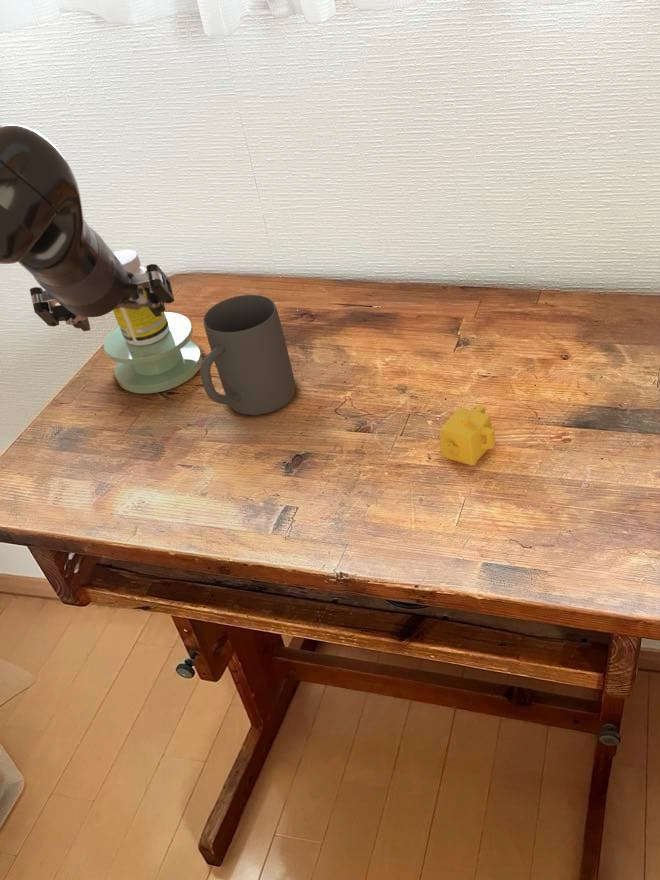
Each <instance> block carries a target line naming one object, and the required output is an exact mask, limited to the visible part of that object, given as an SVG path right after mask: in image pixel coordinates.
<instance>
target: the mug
mask: <svg viewBox="0 0 660 880" xmlns="http://www.w3.org/2000/svg"><path fill="white" fill-rule="evenodd" d="M203 327H204V330H205V334H206V338H207V341H208V345H209V348H210V352H208V354H207V355H206V356H205V357H204V358H203V359H202V360H203V361H202V364H201V368H200V369H199V372H200V380H201V382H202V387H203V390H204V391H205V393H206V395H207V397H208V398H209V399H210V400H211V401H212V402H214V403H217V404H219V405H226V406H230V407H231V409H233V410H234V411H235V412H237V413H239V414H242V415H247V416H259V415H265V414H270V413H273V412H275V411H277V410H279V409H282V408H283V407H285V406H287V404H289V402H290V401H291V400H292V399H293V398H294V396H295V393H296V382H295V377H294V376H295V375H294V372H293V368H292V367H293V366H292V363H291V359H290V354H289V350H288V346H287V343H286V338H285V335H284V331H283V326H282V323H281V319H280V316H279V312H278V308H277V306H276V304H275V302H274V301H273V300H272V299H270V297H267V296H264V295H258V294H244V295H238V296H233V297H229V298H226V299H224V300H222V301H219V302H218V303H216V304H214V305H213V306H211V307H210V308H208V310H207V311H206V312H205V314H204V316H203ZM213 364H215V367H216V371H217V374H218V376H219V380H220V383H221V386H222V389H223V392H224V394H221V393H219V392H218V391H217V390H216V389H215V386H214V383H213V380H212V376H211V369H212V365H213Z"/></svg>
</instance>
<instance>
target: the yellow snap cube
mask: <svg viewBox="0 0 660 880" xmlns="http://www.w3.org/2000/svg"><path fill="white" fill-rule="evenodd" d="M495 432H496V431H495V429H493V426H492V420H491V415H490V414H487V413H486V408H485V406H482V405H477V406H476V407H475V408H474V409H468V408H465V407H459V408H458V409H457V410H456V411H455V412H453V414H451V416H450V417H449V418H448V419H447V420H446V421H445V423H444V424H443V426H442V427H441V428H440V435H439V439H440V440H439V441H440V443H439V445H440V446H439V447H440V453H441V456H442V457H443V458H446V459H448V460H451V461H455V462H458V463H462V464H465V465H468V466H470V467H471V466H475V465H477V462H478V461H479V460H480V459H481V457H483V456H484V454H485V453H486V452H487V451H488V450H491V449H493V448H494V447H495V446H497V445H496V444H497V443H496V433H495Z"/></svg>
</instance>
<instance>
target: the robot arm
mask: <svg viewBox="0 0 660 880" xmlns="http://www.w3.org/2000/svg"><path fill="white" fill-rule="evenodd" d="M82 204H83V203H82V199H81V193H80V189H79V185H78V181H77V179H76V176H75V174H74V172H73V170H72V168H71V166H70V164H69V162H68V161H67V159H66V158H65V157H64V155H63V154H62V153H61V151H60V150H59V149H58V148H57V146H56V145H54V143H53V142H52V141H50V140H49V139H48V138H47V137H45V135H43V134H42V133H41V132H39V131H36V130H35V129H33V128H30V127H28V126H26V125H20V124H5V125H1V126H0V264H1V265H13V264H17V263H18V264H19V265H20V266H22V267H23V268H24V269H25V270H26V271H27V272H28V273H29V274H31V275H32V276H33V278H34V279H35V281H36V282H37V284H38V285H39V286H40V287H39V286H38V287H37V286H34V287H31V288H29V293H30V298H31V303H32V307H33V312H34V313H35V314H36V315H37V316H38V317H39V318H40V319H41V321H43V322H44V323H45V324H46V325H47V326H48V327H53V328H54V327H57V326H59V325H60V322H65V324H66V325H70V326H72V327H74V328H75V329H78V330H80V329H81V330H82V331H83V332H89V331H91V326H90V321H89V318H98V317H102V316H105V315H107V314H109V313H111V312H113V309H119V308H127V309H134V310H138V309H140V308H142V307H148V308H149V309H150V310H151V312H152V313H153V314H154V315H155V317H158V316H162V314H161V312H163V311H164V312H166V305H165V304H172V303H174V302H175V297H174V293H173V288H172V285H171V280H170V278H169V277H168V276H167V274H166V273H165V272H164V271H163V270H162V269H161V268H160V266H159V265H158V264H155V263H150V264H147V265H146V266H145V268H146V269H147V271H145V273H144V274H140V275H134V274H133V273H131V272H128V271H125V269H124V267H123V266H122V264H121V263H120V261H119V260H118V259H117V257H116V256H115V255H114V253H113V250H112V249H111V248H110V247H109V245H108V244H107V243H106V242H105V240H104V239H103V238H102V237H101V235H100V234H99V233H98V232H97V231H96V230H95V229H93V228H92V227H91V226H90V225H89V224H88V222H87V221H86V220H85V218H84V211H83V205H82ZM143 291H145V293H146V297H147V299H146V298H145V297H144V294H143ZM131 297H132V300H129V299H130V298H131ZM57 304H59V305H57Z"/></svg>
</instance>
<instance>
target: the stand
mask: <svg viewBox="0 0 660 880" xmlns="http://www.w3.org/2000/svg"><path fill="white" fill-rule="evenodd" d="M164 313H165V315H166V318H167V321H168V324H169V331H168V333H167V334H166V336H164V337H163V338H162V339H161V340H159V341H157V342H155V343H152V344H149V345H144V346H136V345H131V344H129V343H127V342H126V340H125V339H124V337H123V334H122V332H121V330H120V327H119V325H117V326H116V327H114V328H113V329H112V330H111V331H109V333H107V335H106V337H105V339H104V341H103V350H104V353H105V354H106V356H107V357H108V358H109V359H110V360H111V361H112V362H113V361H114V362H115V363H116V364H115V367H114V376H115V378H116V381H117V383H118V385H119V386H120V387H121V388H122V389H123V390H125V391H127V392H130V393H135V394H155V393H160V392H165V391H168V390H172V389H174V388H177V387H178V386H181V385H183V384H185V383H186V382H187V381H189V380H191V379H193V377H194V376H195V375H196V374H197V373H198V372H200V369H201V364H202V361H203V360H204V359H203V355H202V352H201V349H200V347H199V346H198V345H197V344H196V343H195V342H194V341H191V339H192V336H193V333H194V329H193V328H194V327H193V325H192V322H191V321H190V319H189V318H188V317H187V316H185V315H183V314H180V313H178V312H171V311H164Z"/></svg>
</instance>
